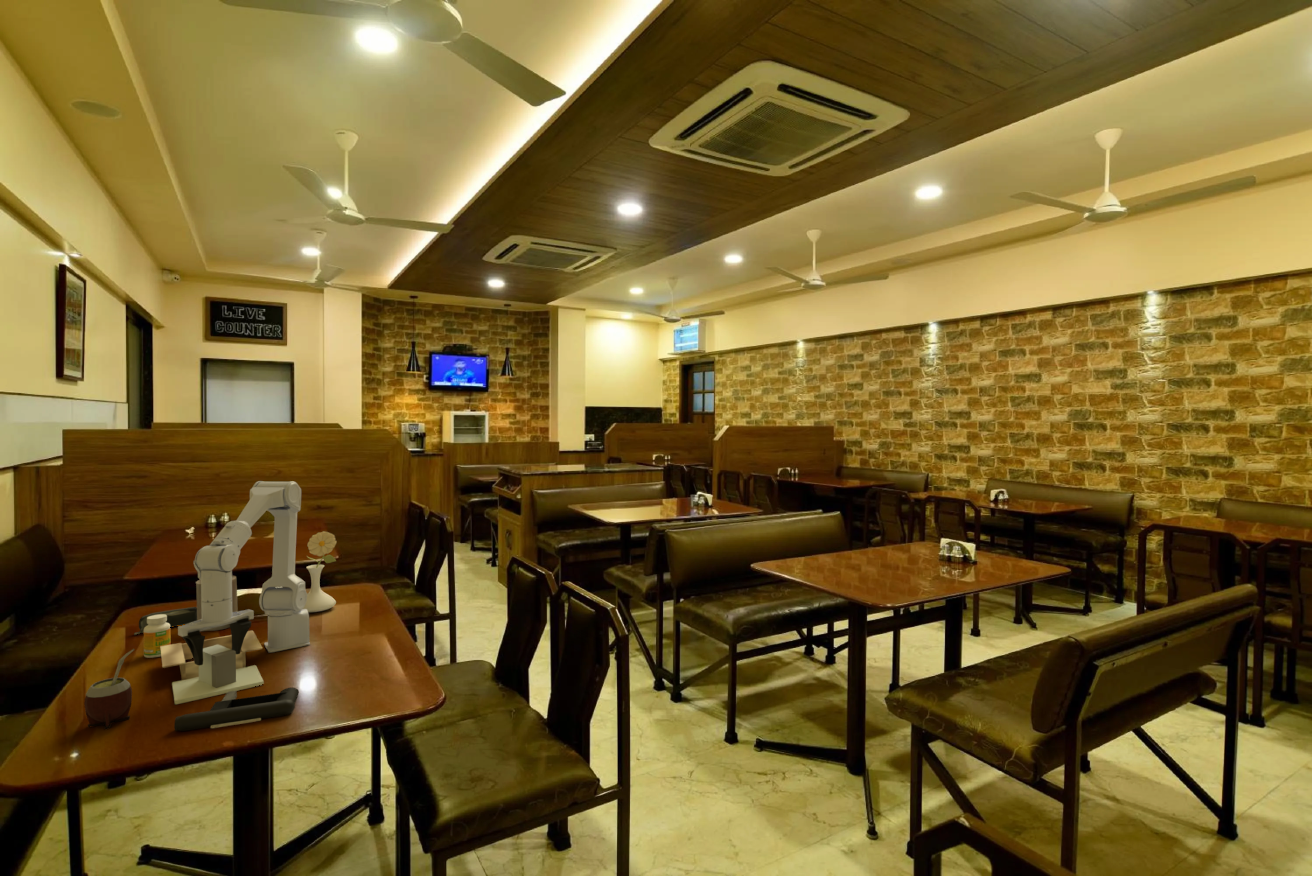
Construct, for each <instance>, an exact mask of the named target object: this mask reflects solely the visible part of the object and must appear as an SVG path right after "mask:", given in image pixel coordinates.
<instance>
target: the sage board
mask: <svg viewBox="0 0 1312 876" xmlns="http://www.w3.org/2000/svg"><path fill="white" fill-rule="evenodd" d="M261 675H262V674H261V673H260V671H259V669H258V667H257V665H255V664H254V665H250V666H246V667H244V668H239V669H236V682H234V683H231V684H228V685H225V686H222V687H218V688H215V687H213V686H210V685H208V684H206V683H204V682H202V681H200V680H199V677H195V678H191V679H186V680H182V679H181V680H177V681H172V682H171V686H172V693H173V701H174V705H179V704H184V703H189V702H192V701H199V700H202V699H206V698H210V697H215V696H219V695H224V694H227V692H229V691H240V690H241V691H242V690H246V689H251V688H255V686H256V687H259V685H260V686H263V685H262V684H265V681H264V679H263V677H262V676H261Z"/></svg>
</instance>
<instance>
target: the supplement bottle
mask: <svg viewBox="0 0 1312 876" xmlns="http://www.w3.org/2000/svg"><path fill="white" fill-rule="evenodd" d="M166 621H167V615H165V614H159V615H153V616H149V617H147V624H148V625H147V626H146V627H145V628H144V633H143V657H144V658H147V659H148V658H149V659H151V658H152V659H153V658H161V649H160V646H166V645H171V643H172V641H171V638H172V637H171V631H172V630H171V629H172V628H170V624H169V623H166Z"/></svg>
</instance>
